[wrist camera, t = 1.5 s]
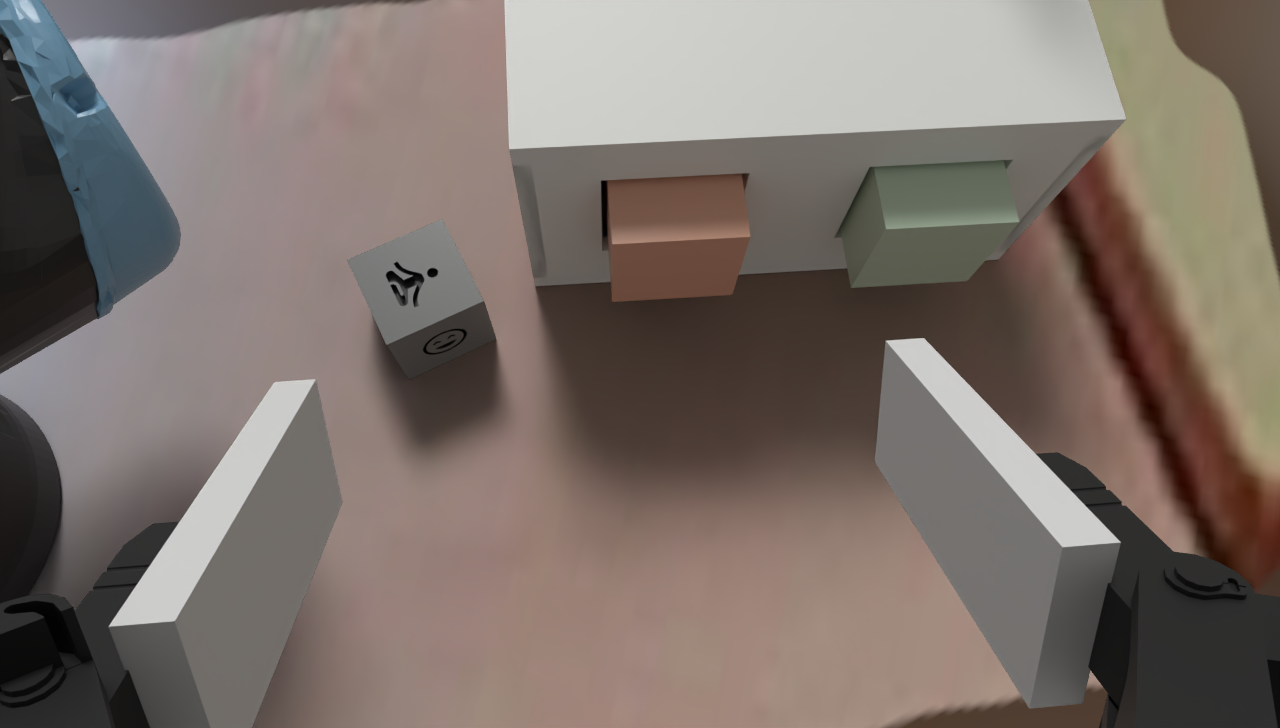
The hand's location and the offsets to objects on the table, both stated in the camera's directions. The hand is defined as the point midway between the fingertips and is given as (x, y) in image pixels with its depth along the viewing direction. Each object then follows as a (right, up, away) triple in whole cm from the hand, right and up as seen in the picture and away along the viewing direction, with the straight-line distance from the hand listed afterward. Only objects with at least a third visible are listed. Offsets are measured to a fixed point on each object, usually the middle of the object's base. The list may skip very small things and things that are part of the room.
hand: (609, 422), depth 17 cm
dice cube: (-10, +3, +30) cm, 32 cm away
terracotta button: (+2, +8, +28) cm, 29 cm away
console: (+7, +11, +33) cm, 36 cm away
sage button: (+14, +8, +28) cm, 33 cm away
